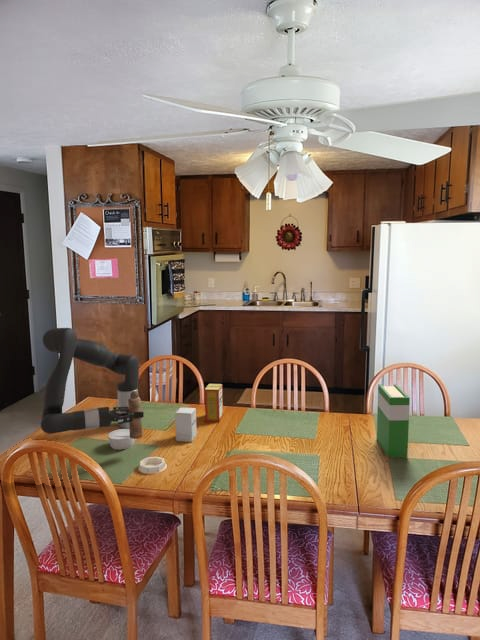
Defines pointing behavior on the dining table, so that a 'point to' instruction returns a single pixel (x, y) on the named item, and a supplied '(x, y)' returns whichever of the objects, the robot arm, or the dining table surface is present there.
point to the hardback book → (393, 420)
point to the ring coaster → (152, 465)
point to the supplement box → (185, 424)
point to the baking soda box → (213, 403)
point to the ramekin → (120, 439)
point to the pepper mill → (136, 424)
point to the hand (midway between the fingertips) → (141, 412)
